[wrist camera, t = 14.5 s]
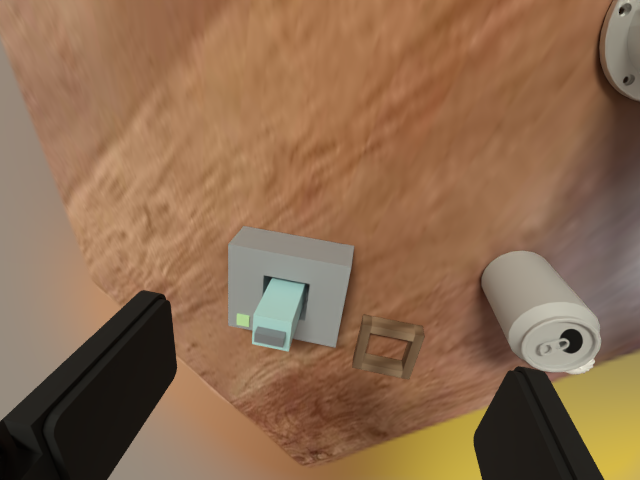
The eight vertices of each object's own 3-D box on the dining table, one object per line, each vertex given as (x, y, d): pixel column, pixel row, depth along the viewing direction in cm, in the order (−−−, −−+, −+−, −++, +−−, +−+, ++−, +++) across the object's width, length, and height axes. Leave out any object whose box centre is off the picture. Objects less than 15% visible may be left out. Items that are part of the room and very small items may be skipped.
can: (551, 293, 41) (613, 373, 30) (485, 306, 43) (520, 384, 32) (544, 239, 38) (610, 306, 27) (473, 256, 40) (508, 323, 29)
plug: (309, 270, 43) (289, 329, 33) (306, 295, 45) (286, 358, 35) (278, 264, 43) (250, 321, 34) (276, 290, 45) (248, 350, 35)
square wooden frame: (422, 326, 45) (424, 336, 44) (408, 368, 49) (409, 379, 47) (363, 314, 46) (362, 324, 44) (353, 357, 50) (352, 367, 48)
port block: (354, 246, 42) (351, 268, 37) (339, 321, 47) (335, 349, 42) (243, 225, 43) (227, 245, 38) (241, 301, 48) (227, 327, 44)
